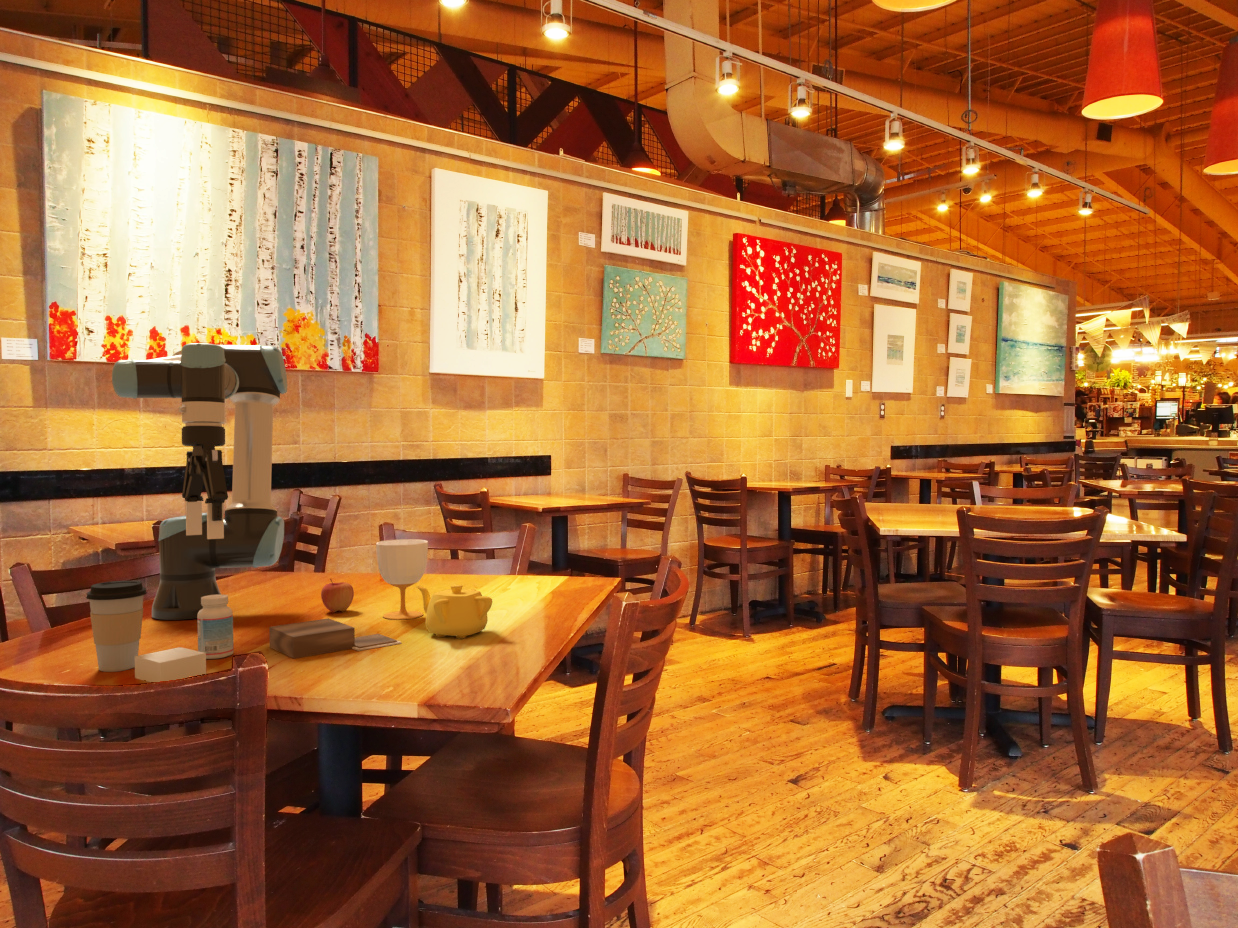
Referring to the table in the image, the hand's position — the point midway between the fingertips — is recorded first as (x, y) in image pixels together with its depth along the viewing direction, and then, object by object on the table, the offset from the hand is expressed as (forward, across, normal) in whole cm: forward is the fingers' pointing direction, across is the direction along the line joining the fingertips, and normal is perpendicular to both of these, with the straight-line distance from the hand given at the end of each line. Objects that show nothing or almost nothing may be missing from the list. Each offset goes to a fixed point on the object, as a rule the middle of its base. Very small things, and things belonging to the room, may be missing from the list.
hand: (204, 536), depth 166 cm
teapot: (+22, +17, +44) cm, 52 cm away
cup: (+21, -7, +45) cm, 50 cm away
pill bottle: (+22, +3, +1) cm, 23 cm away
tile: (+22, +13, +27) cm, 37 cm away
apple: (+21, -22, +36) cm, 47 cm away
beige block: (+23, +13, -9) cm, 28 cm away
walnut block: (+22, +9, +17) cm, 29 cm away
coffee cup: (+23, +1, -15) cm, 27 cm away
